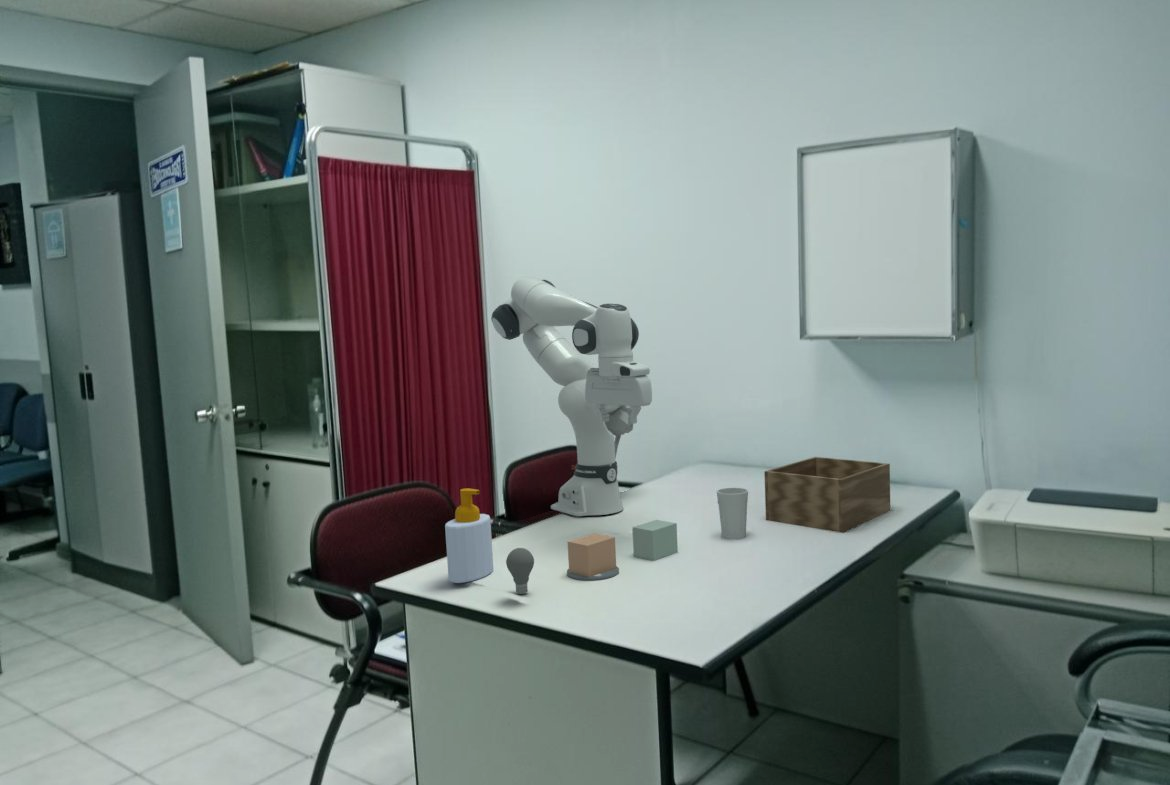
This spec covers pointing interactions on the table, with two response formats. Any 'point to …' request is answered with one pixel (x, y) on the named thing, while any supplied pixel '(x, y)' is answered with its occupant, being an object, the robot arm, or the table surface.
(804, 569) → the table surface
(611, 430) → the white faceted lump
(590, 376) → the robot arm
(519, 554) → the light bulb
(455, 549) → the soap bottle
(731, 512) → the cup
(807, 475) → the walnut planter box
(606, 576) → the slate coaster
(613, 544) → the peach smooth rectangular block
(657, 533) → the pale green upright block
